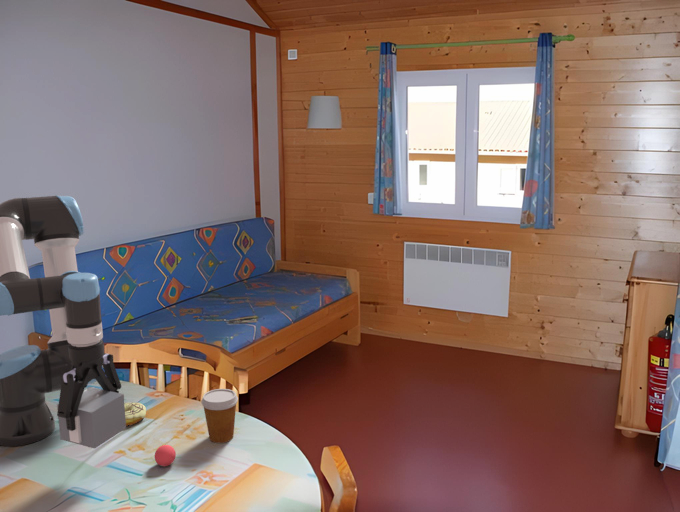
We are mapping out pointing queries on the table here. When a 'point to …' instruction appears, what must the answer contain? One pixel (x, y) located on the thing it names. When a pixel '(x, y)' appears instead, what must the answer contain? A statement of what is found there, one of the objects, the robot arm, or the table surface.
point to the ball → (165, 455)
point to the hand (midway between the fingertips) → (93, 430)
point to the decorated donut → (134, 412)
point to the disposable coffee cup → (220, 414)
